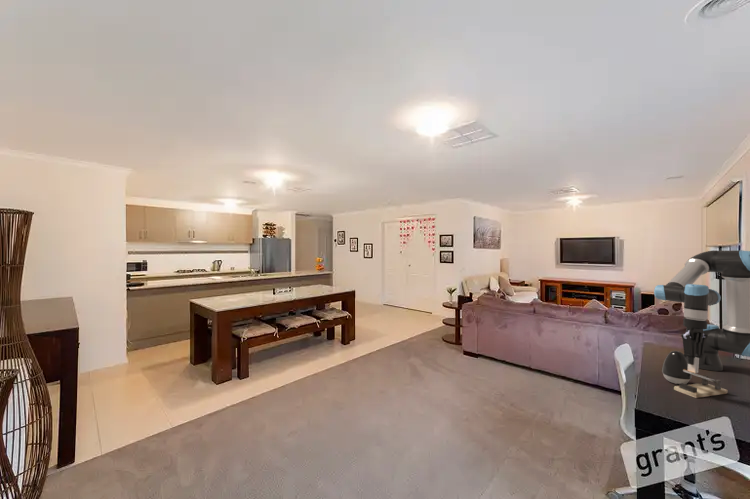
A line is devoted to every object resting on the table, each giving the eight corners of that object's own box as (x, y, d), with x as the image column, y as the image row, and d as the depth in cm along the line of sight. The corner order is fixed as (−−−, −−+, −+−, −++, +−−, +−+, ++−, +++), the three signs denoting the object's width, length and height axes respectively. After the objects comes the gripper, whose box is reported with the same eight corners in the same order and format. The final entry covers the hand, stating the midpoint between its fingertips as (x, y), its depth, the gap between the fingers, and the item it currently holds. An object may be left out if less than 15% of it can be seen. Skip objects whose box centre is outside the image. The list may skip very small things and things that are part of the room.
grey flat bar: (707, 380, 144) (708, 377, 145) (716, 383, 141) (717, 380, 141) (682, 371, 140) (683, 369, 140) (691, 374, 137) (692, 371, 137)
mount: (704, 385, 147) (704, 374, 147) (727, 393, 140) (727, 381, 140) (674, 389, 142) (674, 377, 142) (695, 397, 135) (696, 385, 135)
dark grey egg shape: (697, 388, 145) (698, 355, 145) (671, 385, 147) (672, 353, 147) (681, 379, 155) (681, 348, 155) (656, 377, 157) (657, 346, 157)
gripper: (695, 317, 145) (693, 368, 145) (674, 317, 142) (672, 369, 142) (716, 320, 138) (714, 374, 138) (694, 320, 135) (692, 375, 134)
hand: (692, 371), depth 140 cm, fingers closed
